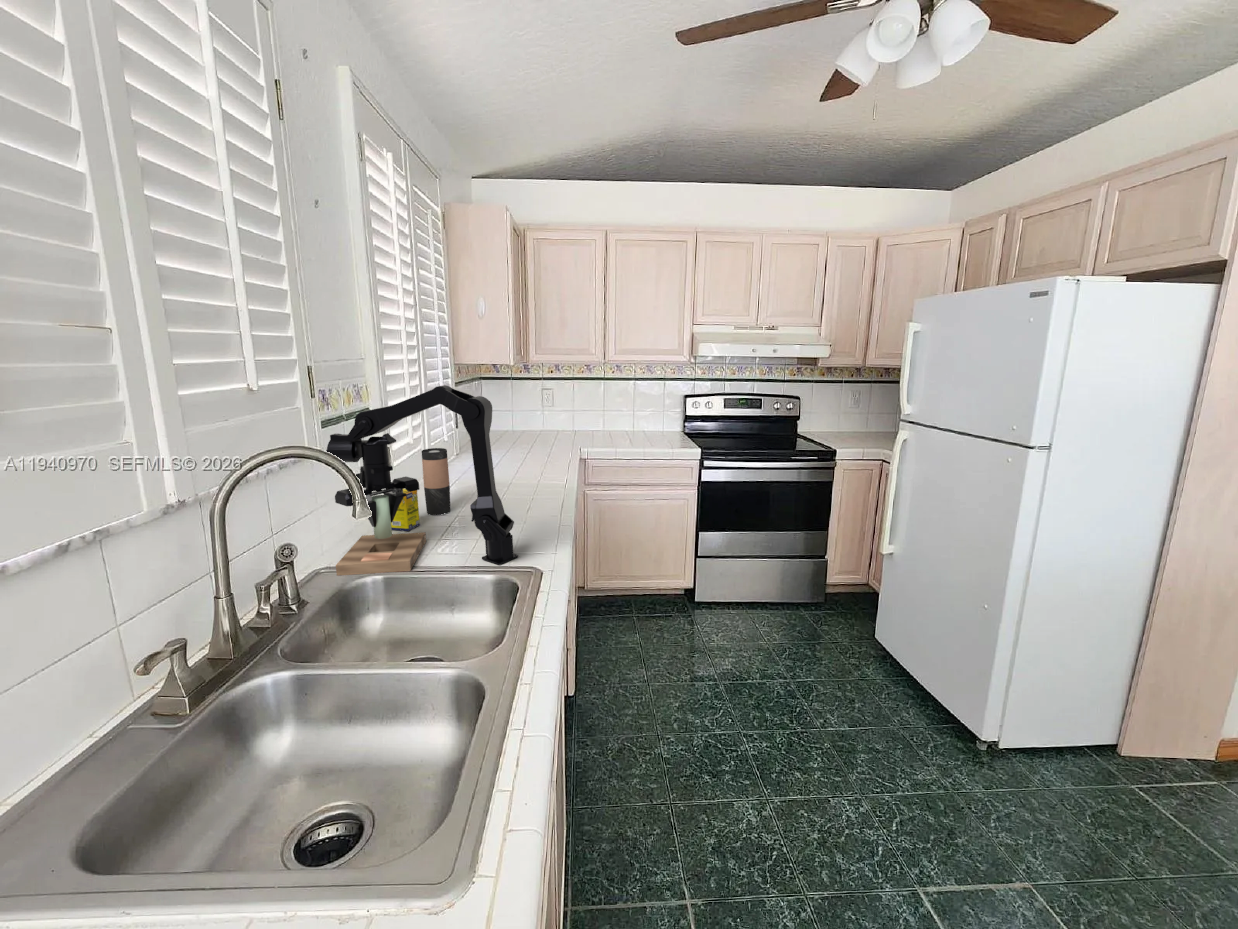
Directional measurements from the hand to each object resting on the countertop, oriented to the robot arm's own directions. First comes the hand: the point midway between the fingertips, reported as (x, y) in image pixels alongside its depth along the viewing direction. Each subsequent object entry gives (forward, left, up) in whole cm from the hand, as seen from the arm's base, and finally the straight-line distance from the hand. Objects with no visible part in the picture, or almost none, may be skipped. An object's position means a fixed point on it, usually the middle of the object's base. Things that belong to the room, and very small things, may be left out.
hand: (382, 524), depth 130 cm
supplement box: (+16, -16, -9) cm, 24 cm away
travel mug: (+21, -31, -9) cm, 38 cm away
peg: (0, 0, -3) cm, 3 cm away
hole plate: (0, 0, -9) cm, 9 cm away
